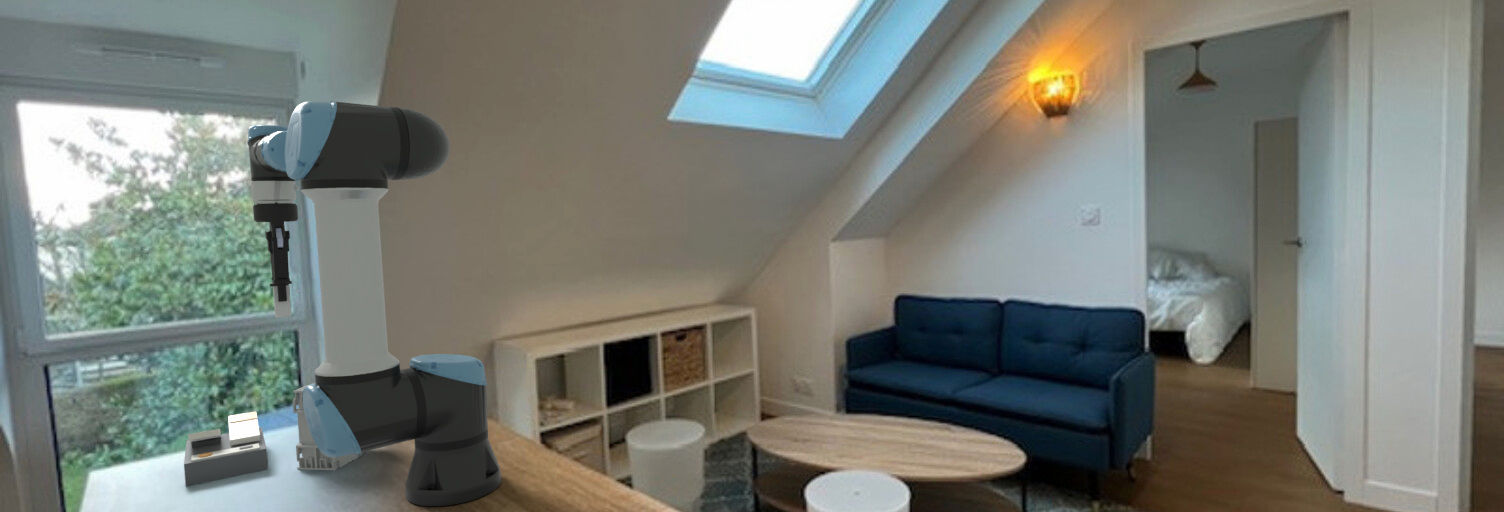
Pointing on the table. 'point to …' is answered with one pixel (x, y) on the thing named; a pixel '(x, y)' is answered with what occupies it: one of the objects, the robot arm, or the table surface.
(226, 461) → the switch unit
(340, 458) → the circuit breaker
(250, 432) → the rocker right
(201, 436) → the rocker left
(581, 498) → the table surface
